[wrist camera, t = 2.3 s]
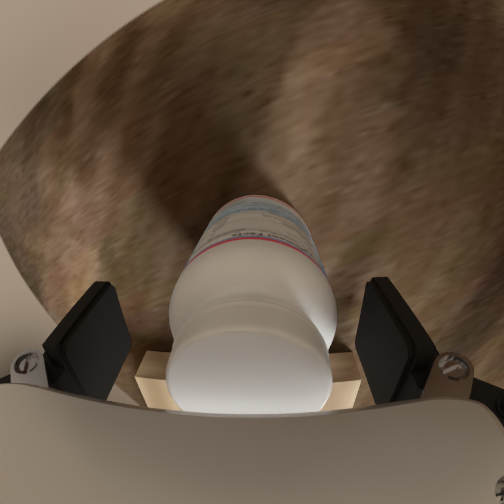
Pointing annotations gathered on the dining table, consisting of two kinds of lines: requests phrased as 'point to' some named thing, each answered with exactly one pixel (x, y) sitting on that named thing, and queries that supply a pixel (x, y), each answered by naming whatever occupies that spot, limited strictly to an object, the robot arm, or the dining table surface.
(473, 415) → the robot arm
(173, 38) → the dining table surface
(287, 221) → the pill bottle
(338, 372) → the birch plinth
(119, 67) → the dining table surface
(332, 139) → the dining table surface
